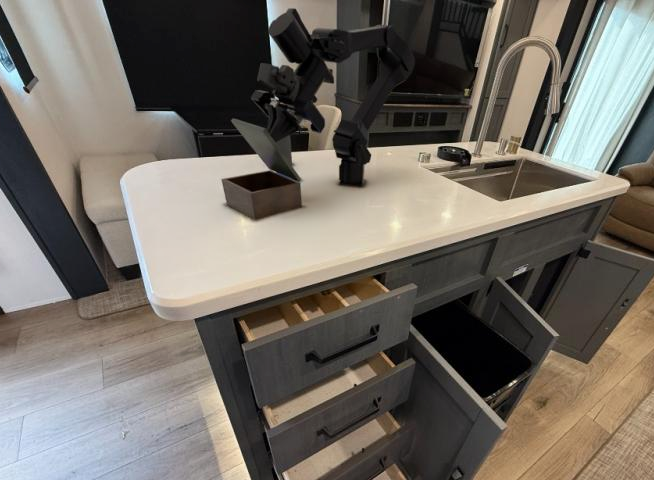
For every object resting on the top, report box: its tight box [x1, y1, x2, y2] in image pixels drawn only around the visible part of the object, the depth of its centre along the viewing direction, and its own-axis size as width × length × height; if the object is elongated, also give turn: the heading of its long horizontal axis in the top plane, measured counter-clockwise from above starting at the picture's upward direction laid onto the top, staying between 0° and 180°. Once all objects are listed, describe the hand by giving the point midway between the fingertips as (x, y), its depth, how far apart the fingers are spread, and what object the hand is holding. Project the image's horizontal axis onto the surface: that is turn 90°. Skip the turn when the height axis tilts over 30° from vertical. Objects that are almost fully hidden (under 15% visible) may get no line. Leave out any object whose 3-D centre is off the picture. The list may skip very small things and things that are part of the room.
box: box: [221, 169, 303, 221], centre depth 73 cm, size 12×11×6 cm
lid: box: [230, 118, 302, 182], centre depth 69 cm, size 13×11×1 cm
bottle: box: [276, 135, 293, 166], centre depth 97 cm, size 6×6×15 cm
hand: (266, 143), depth 69 cm, fingers closed
